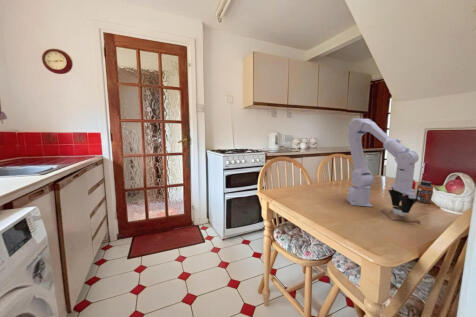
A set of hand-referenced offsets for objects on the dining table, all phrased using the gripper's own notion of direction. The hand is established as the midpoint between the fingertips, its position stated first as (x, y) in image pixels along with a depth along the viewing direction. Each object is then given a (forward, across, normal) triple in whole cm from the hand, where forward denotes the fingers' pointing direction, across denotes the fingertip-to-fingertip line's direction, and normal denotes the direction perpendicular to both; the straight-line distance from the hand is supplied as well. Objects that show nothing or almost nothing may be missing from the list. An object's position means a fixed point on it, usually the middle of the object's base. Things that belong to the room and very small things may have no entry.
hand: (400, 209), depth 84 cm
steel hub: (+3, 0, 0) cm, 3 cm away
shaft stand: (+3, 0, 0) cm, 3 cm away
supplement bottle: (+4, +25, -23) cm, 34 cm away
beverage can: (+4, +25, -15) cm, 29 cm away
